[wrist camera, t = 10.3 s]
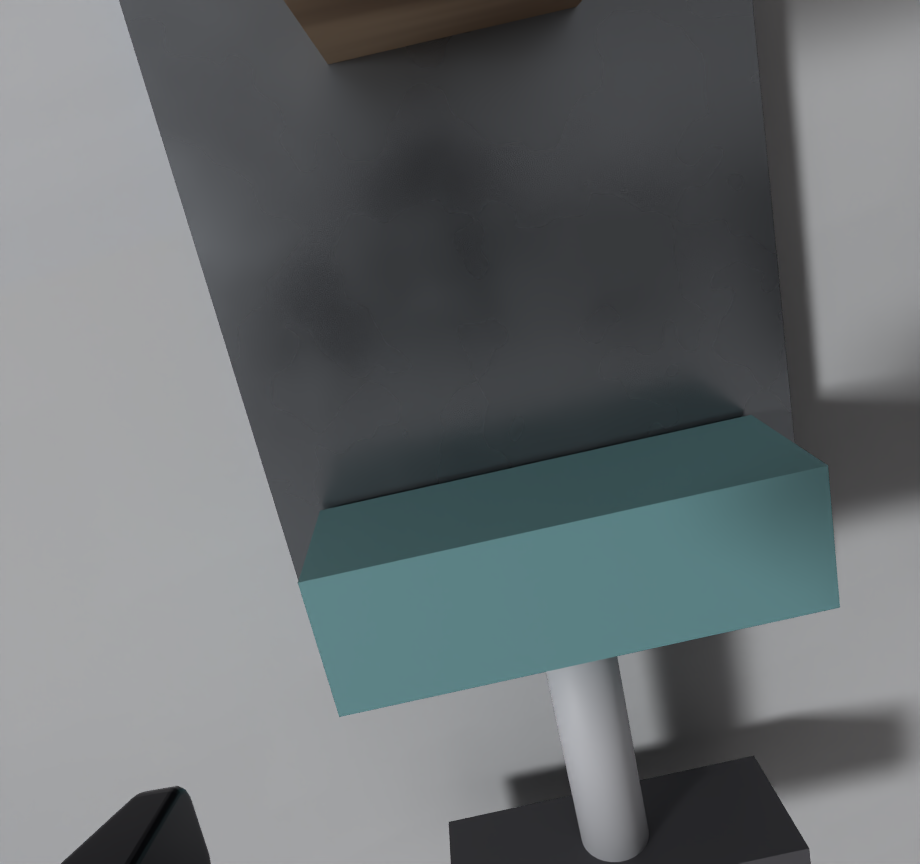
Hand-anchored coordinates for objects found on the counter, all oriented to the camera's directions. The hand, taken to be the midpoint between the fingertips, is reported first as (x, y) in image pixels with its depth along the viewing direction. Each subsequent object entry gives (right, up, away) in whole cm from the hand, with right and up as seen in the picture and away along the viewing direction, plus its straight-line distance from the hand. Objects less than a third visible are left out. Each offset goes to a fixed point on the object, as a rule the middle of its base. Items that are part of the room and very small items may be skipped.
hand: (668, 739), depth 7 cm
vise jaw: (+1, -3, +12) cm, 13 cm away
